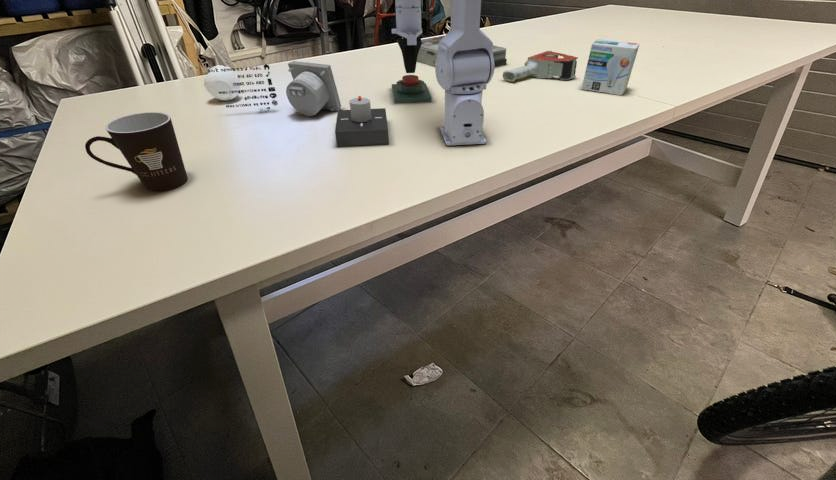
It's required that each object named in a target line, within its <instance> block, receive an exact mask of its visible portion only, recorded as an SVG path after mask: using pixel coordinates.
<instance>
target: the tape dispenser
mask: <svg viewBox="0 0 836 480" xmlns="http://www.w3.org/2000/svg"><path fill="white" fill-rule="evenodd" d="M561 57H562V58H561ZM577 59H579V57H577V56H574V55H569V54H565V53H560V52H556V51H553V50H545V51H543V52H541V53H537V54H534V55H531V56H528V57H527V60H526V61H525V62H524V65H523V66H520V67H516V68H513V69H509V70H508V69H506V70H504V71H503V72H502V79H503V80H504V81H507V82H511V83H513V82H515V81H516V80H518V79H522V78H524V77H526V76H529V77H533V78H535V79H536V78H538V79H553V78H554V77H559V78H558V79H559V81H569V80H571V79H575V78H576V77H577V76H576V69H577V66H578V65H577V63H578V61H577Z"/></svg>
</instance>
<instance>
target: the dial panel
mask: <svg viewBox="0 0 836 480" xmlns="http://www.w3.org/2000/svg"><path fill="white" fill-rule="evenodd" d="M371 117H372V119H371V120H370V121H367V122H354V121H352V118H351V110H350V109H340V110H338V111H337V115H336V120H335V121H336V122H335V127H334V128H335V129H334V133H335V134H334V135H335V141H336V147H337V148H339V147H341V148H342V147H361V146H382V145H390V139H389V127H388V119H387V111H386V108H385V107H383V108H371Z"/></svg>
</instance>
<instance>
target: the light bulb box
mask: <svg viewBox="0 0 836 480" xmlns="http://www.w3.org/2000/svg"><path fill="white" fill-rule="evenodd" d="M639 47H640V42H628V41H619V40H609V39H608V40H607V39H598V38H597V39H596V40H595V41H594V42H592V44H591V45H590V50H589V54H588V58H587V64H586V68H585V72H584V76H583V80H582V85H581V87H580V89H581V90H585V91H592V92H597V93H605V94H612V95H618V96H623V95H624V93H625V92H626V90H627V88H628V85H629V81H630V78H631V74H632V71H633V67H634V65H635V61H636V58H637V54H638V52H639Z"/></svg>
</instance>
